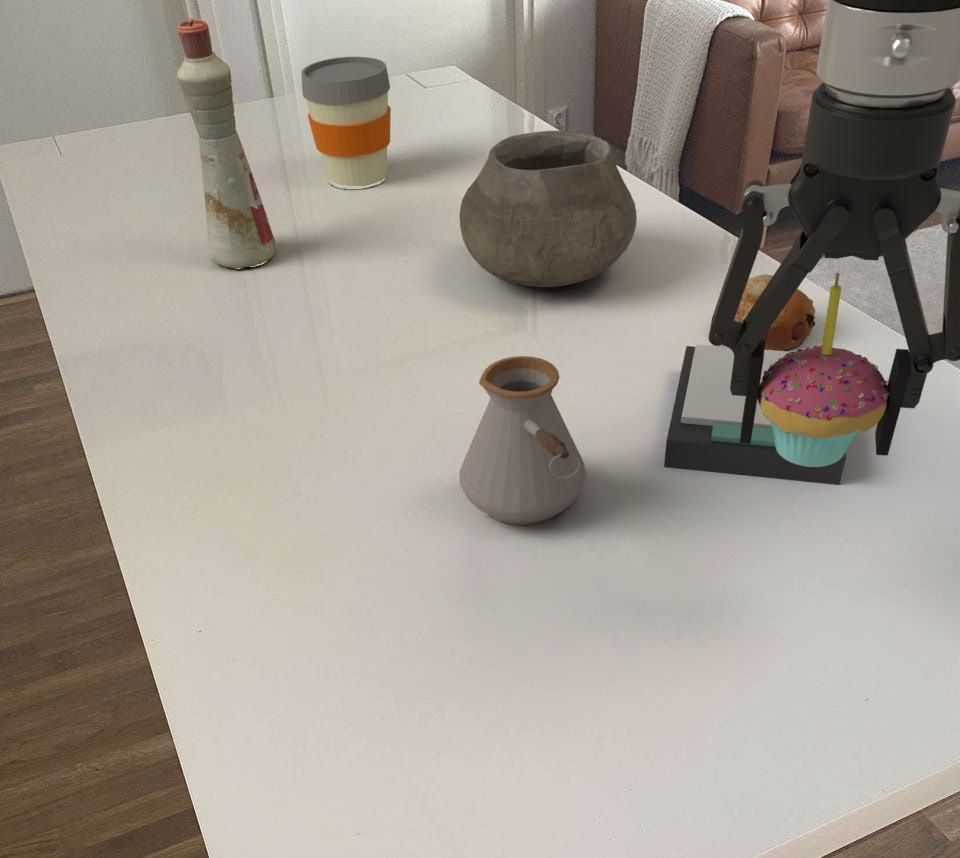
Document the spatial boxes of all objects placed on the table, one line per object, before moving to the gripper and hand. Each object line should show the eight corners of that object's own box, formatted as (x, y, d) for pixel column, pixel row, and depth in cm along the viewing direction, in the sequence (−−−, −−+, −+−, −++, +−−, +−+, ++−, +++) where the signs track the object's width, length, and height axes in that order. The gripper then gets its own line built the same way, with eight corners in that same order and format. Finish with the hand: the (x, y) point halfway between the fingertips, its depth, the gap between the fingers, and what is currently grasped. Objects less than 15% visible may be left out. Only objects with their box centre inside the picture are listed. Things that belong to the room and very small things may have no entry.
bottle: (198, 257, 135) (139, 18, 115) (259, 238, 138) (211, 2, 119) (228, 279, 130) (171, 32, 110) (289, 258, 133) (245, 15, 114)
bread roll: (739, 337, 120) (718, 274, 116) (827, 312, 114) (807, 246, 110) (722, 378, 113) (699, 313, 109) (814, 354, 108) (793, 285, 104)
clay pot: (437, 259, 131) (428, 137, 120) (584, 226, 136) (587, 106, 126) (506, 330, 116) (502, 198, 106) (667, 290, 122) (678, 160, 111)
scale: (839, 384, 105) (846, 350, 102) (839, 484, 92) (848, 449, 90) (683, 371, 108) (687, 338, 105) (663, 466, 96) (667, 432, 93)
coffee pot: (451, 473, 96) (440, 327, 86) (568, 456, 98) (571, 310, 87) (494, 622, 81) (486, 468, 71) (631, 600, 82) (644, 445, 72)
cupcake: (741, 418, 75) (764, 260, 66) (858, 414, 74) (896, 255, 66) (760, 486, 69) (788, 322, 60) (888, 483, 68) (933, 317, 60)
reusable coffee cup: (415, 176, 152) (406, 66, 142) (350, 201, 146) (335, 88, 136) (364, 157, 159) (351, 51, 148) (299, 180, 153) (281, 71, 143)
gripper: (681, 104, 55) (654, 455, 71) (1112, 112, 50) (979, 484, 66) (694, 63, 60) (666, 398, 76) (1086, 66, 55) (969, 422, 71)
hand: (812, 438), depth 71 cm, fingers closed on cupcake, 8 cm apart
